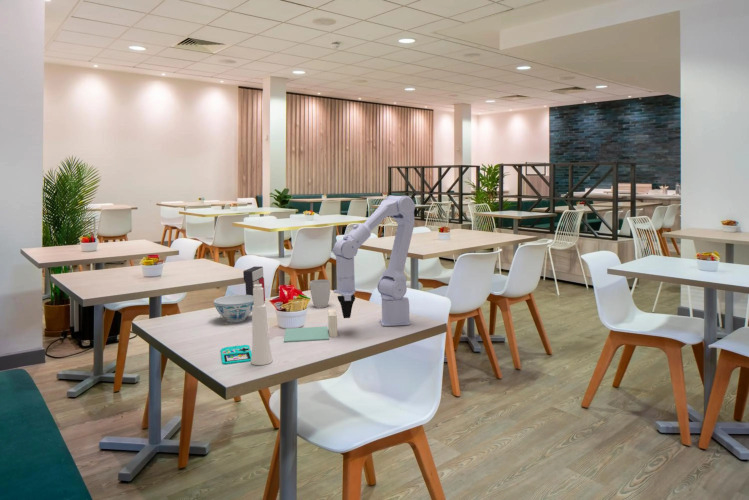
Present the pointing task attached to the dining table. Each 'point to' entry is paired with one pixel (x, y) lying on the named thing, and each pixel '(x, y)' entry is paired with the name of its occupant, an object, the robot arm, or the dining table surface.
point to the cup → (320, 292)
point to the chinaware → (234, 307)
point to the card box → (332, 323)
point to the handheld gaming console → (236, 354)
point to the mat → (306, 334)
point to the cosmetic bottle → (260, 329)
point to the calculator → (253, 279)
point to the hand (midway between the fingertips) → (346, 317)
